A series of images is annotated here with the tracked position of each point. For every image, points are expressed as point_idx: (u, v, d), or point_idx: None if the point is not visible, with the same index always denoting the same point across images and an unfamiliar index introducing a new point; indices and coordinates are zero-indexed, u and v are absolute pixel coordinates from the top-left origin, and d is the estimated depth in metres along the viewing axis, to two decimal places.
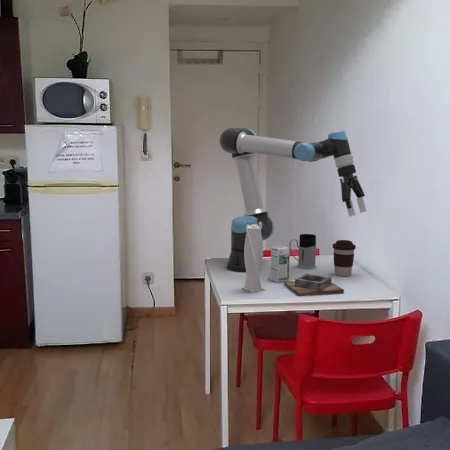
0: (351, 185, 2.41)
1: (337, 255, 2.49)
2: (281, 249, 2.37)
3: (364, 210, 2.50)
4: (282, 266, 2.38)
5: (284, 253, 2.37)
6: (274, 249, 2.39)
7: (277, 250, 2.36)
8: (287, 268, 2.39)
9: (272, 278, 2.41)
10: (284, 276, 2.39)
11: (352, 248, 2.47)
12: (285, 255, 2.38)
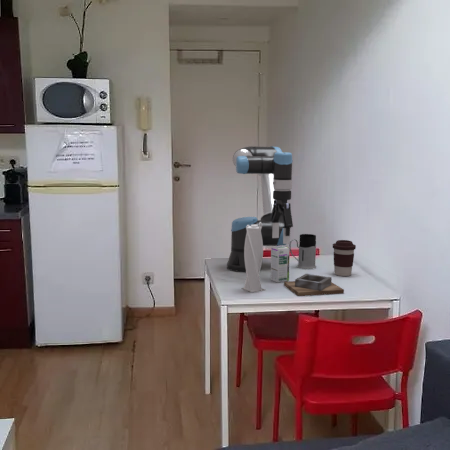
0: (275, 210, 2.40)
1: (337, 255, 2.49)
2: (281, 249, 2.37)
3: None
4: (282, 266, 2.38)
5: (284, 253, 2.37)
6: (274, 249, 2.39)
7: (277, 250, 2.36)
8: (287, 268, 2.39)
9: (272, 278, 2.41)
10: (284, 276, 2.39)
11: (352, 248, 2.47)
12: (285, 255, 2.38)
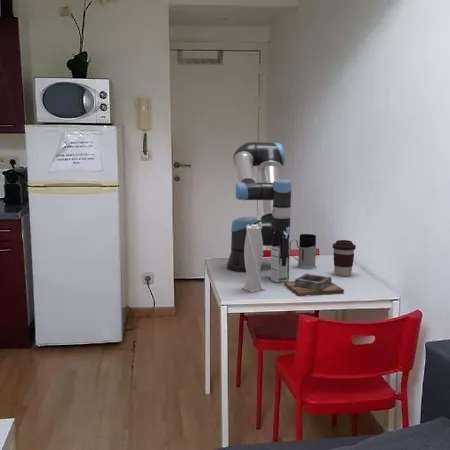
0: (274, 238, 2.41)
1: (337, 255, 2.49)
2: None
3: None
4: None
5: None
6: (274, 248, 2.39)
7: (277, 250, 2.36)
8: (287, 268, 2.39)
9: (272, 278, 2.41)
10: (284, 276, 2.39)
11: (352, 248, 2.47)
12: None
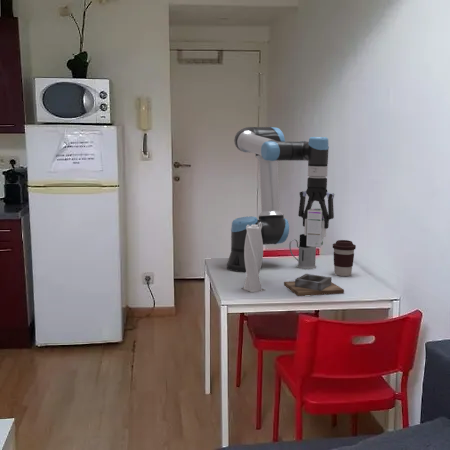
0: (309, 201, 2.22)
1: (337, 255, 2.49)
2: None
3: None
4: None
5: None
6: (313, 212, 2.21)
7: (321, 213, 2.20)
8: None
9: (310, 244, 2.23)
10: (322, 240, 2.25)
11: (352, 248, 2.47)
12: (323, 217, 2.24)
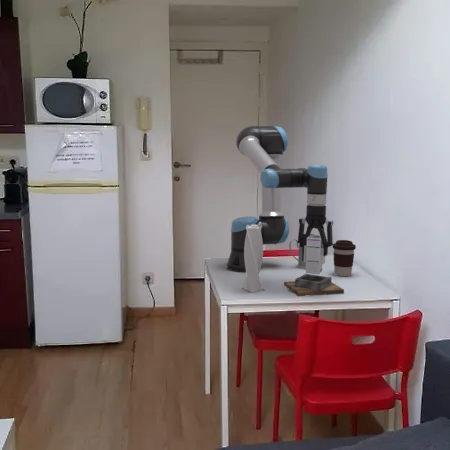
0: (308, 228, 2.24)
1: (337, 255, 2.49)
2: None
3: None
4: None
5: None
6: (312, 239, 2.22)
7: (320, 240, 2.22)
8: None
9: (309, 271, 2.25)
10: (321, 266, 2.26)
11: (352, 248, 2.47)
12: (322, 244, 2.25)
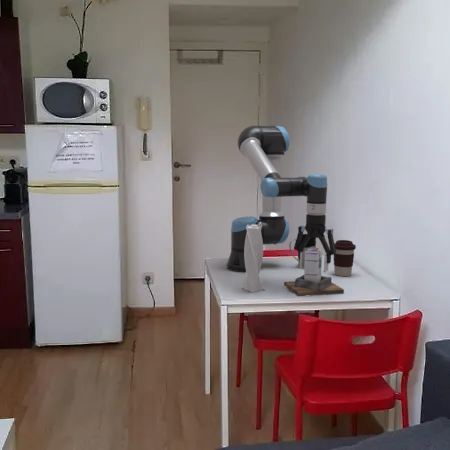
0: (306, 236, 2.25)
1: (337, 255, 2.49)
2: (319, 252, 2.24)
3: None
4: (319, 270, 2.26)
5: (320, 256, 2.26)
6: (310, 253, 2.24)
7: (318, 254, 2.23)
8: None
9: None
10: (320, 280, 2.27)
11: (352, 248, 2.47)
12: (320, 257, 2.27)
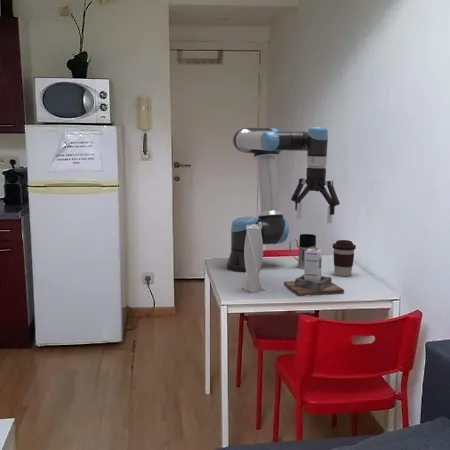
0: (305, 189, 2.25)
1: (337, 255, 2.49)
2: (319, 252, 2.24)
3: None
4: (319, 270, 2.26)
5: (320, 256, 2.26)
6: (310, 253, 2.24)
7: (318, 254, 2.23)
8: (320, 271, 2.28)
9: None
10: (320, 280, 2.27)
11: (352, 248, 2.47)
12: (320, 257, 2.26)
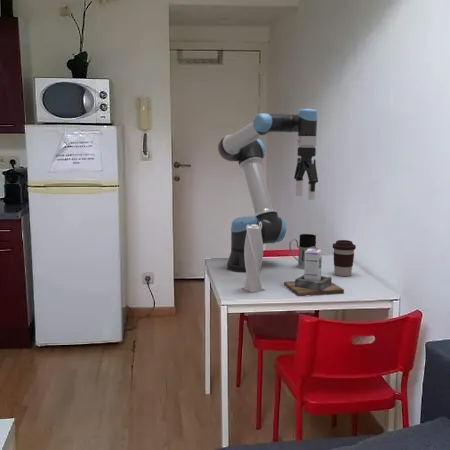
0: (299, 167, 2.41)
1: (337, 255, 2.49)
2: (319, 252, 2.24)
3: None
4: (319, 270, 2.26)
5: (320, 256, 2.26)
6: (310, 253, 2.24)
7: (318, 254, 2.23)
8: (320, 271, 2.28)
9: None
10: (320, 280, 2.27)
11: (352, 248, 2.47)
12: (320, 257, 2.26)
